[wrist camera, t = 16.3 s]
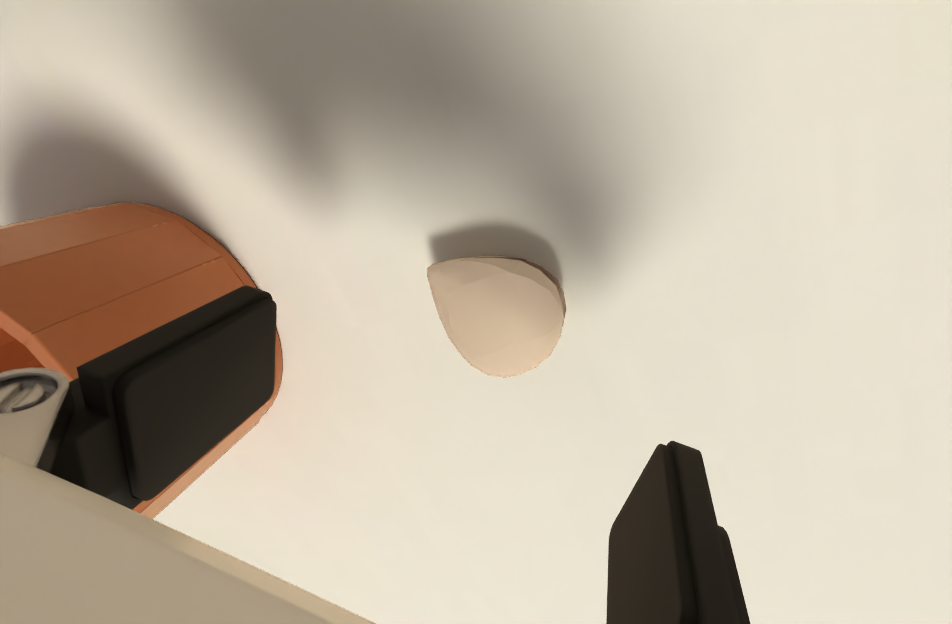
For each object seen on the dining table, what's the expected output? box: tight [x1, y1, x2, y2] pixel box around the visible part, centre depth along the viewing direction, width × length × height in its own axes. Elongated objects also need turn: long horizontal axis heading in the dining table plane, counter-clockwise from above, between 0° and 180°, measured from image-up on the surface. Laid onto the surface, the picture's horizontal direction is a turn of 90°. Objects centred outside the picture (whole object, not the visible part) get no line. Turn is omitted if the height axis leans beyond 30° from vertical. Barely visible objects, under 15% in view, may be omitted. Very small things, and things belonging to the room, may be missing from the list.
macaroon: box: [427, 256, 566, 377], centre depth 15 cm, size 4×5×2 cm
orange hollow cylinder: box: [0, 202, 282, 519], centre depth 19 cm, size 12×12×8 cm
